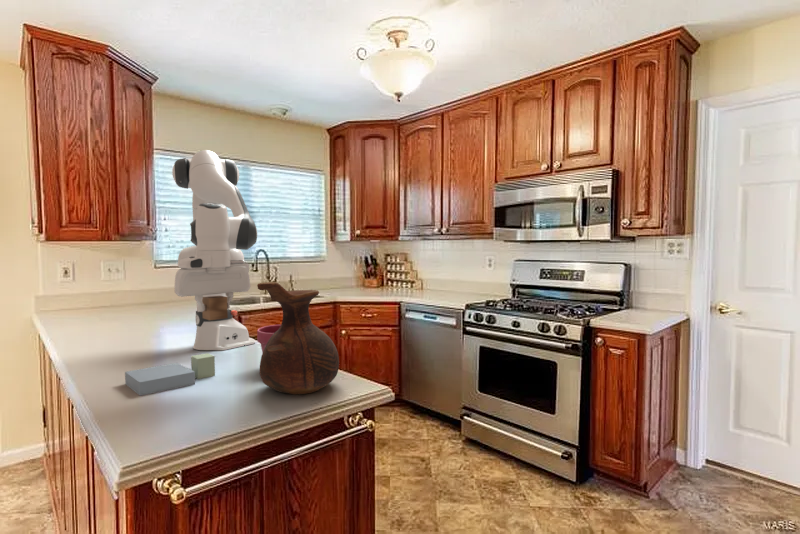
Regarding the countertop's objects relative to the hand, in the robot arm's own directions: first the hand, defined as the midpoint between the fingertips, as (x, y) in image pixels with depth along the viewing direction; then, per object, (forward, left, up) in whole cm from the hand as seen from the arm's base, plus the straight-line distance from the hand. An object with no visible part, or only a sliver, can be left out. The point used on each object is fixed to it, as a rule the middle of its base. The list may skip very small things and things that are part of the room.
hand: (214, 309), depth 129 cm
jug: (-14, +21, -21) cm, 33 cm away
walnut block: (0, 0, -2) cm, 2 cm away
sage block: (0, -10, -21) cm, 24 cm away
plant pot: (-21, -1, -21) cm, 30 cm away
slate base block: (+12, -10, -21) cm, 27 cm away
